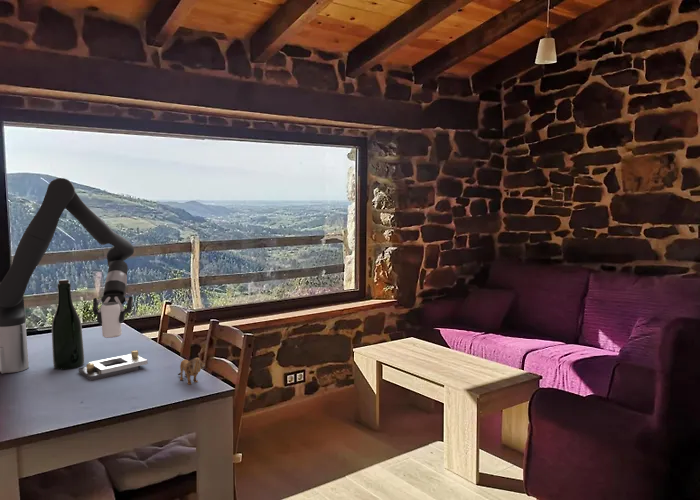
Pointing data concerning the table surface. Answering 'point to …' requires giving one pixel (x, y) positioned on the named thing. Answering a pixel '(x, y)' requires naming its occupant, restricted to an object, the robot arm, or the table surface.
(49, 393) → the table surface
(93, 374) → the lower link
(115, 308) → the can
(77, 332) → the green wine bottle
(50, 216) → the robot arm
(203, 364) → the lion figurine
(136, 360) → the upper link
